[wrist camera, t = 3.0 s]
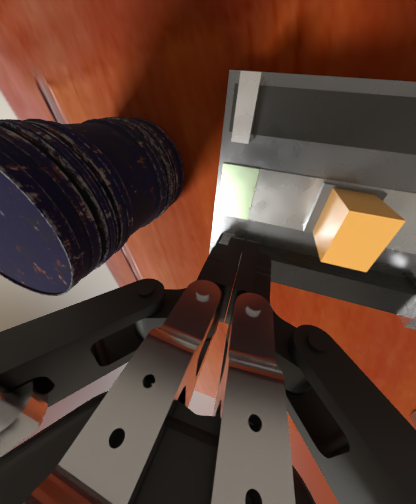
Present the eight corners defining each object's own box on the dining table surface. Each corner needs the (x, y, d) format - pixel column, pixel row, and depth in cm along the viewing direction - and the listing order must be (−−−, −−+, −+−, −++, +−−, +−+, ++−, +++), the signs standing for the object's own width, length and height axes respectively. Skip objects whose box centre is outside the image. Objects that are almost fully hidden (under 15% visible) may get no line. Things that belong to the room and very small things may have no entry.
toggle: (384, 191, 15) (422, 220, 11) (353, 239, 18) (375, 277, 14) (323, 181, 16) (338, 205, 12) (302, 229, 18) (309, 261, 14)
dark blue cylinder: (159, 97, 18) (-75, 64, 6) (198, 198, 22) (108, 293, 11) (90, 139, 22) (-125, 168, 10) (135, 217, 26) (20, 299, 15)
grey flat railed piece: (607, 100, 11) (793, 91, 7) (405, 295, 21) (434, 338, 17) (234, 74, 15) (218, 59, 11) (213, 248, 25) (200, 274, 21)
